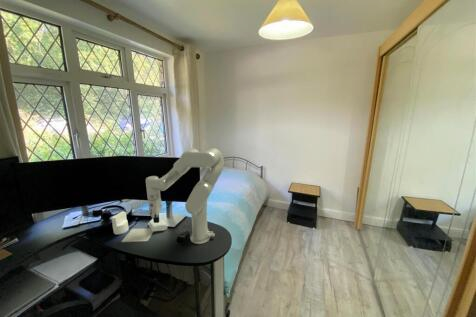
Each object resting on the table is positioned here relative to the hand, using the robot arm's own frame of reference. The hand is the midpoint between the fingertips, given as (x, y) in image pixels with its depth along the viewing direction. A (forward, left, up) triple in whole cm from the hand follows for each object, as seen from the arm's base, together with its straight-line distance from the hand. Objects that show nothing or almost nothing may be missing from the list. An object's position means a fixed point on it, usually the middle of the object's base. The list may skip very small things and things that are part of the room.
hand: (156, 222), depth 129 cm
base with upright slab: (+28, -7, -10) cm, 30 cm away
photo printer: (-1, -2, -6) cm, 6 cm away
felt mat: (+13, -1, -10) cm, 16 cm away
